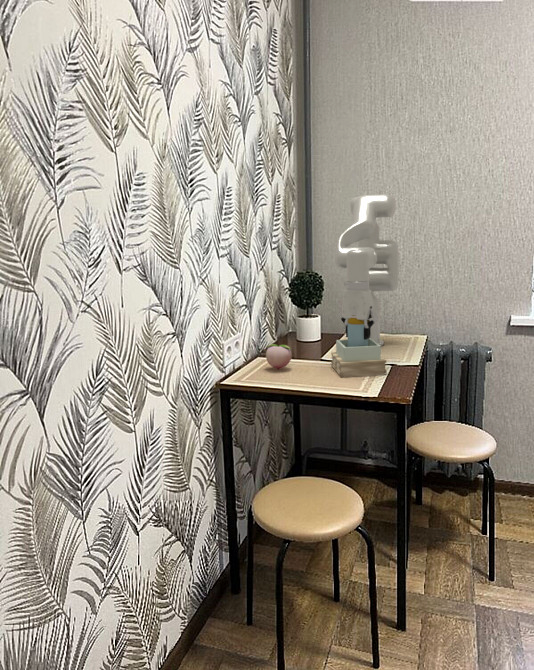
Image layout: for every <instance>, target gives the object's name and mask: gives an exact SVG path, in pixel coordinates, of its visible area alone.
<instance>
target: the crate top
mask: <svg viewBox="0 0 534 670" xmlns="http://www.w3.org/2000/svg"><path fill="white" fill-rule="evenodd" d="M335 345H336V346H335V347H336V348H335V349H336V350H335V352H336V353H337V355H338V356H339V357H340V358H341V359H342V360H343V361H344V362H349V361H367V360H381V357H382V354H381V353H382V349H381V348H382V346H380V345H379V344H378V343H376V342H375V341H374V340H373V339H371V338H369V339H368V346H360V347H348V339H336V340H335Z"/></svg>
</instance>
